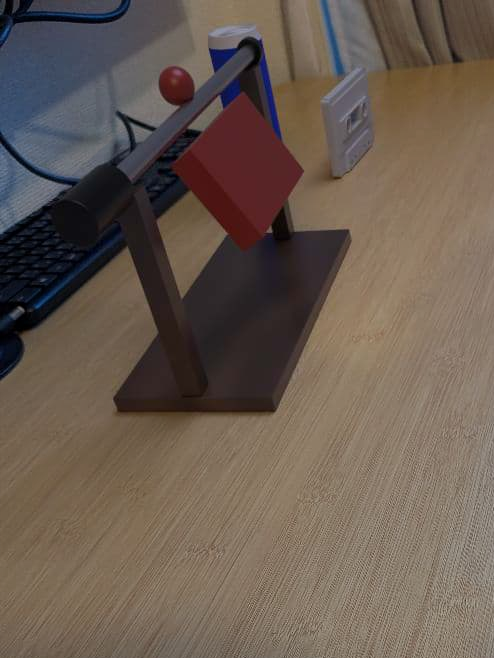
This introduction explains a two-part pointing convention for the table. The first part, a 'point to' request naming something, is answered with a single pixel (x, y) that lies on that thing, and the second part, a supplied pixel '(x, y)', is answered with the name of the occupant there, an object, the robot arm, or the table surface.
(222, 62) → the beverage can
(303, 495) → the table surface
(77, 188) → the foosball rod
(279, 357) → the rod stand
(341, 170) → the cassette
